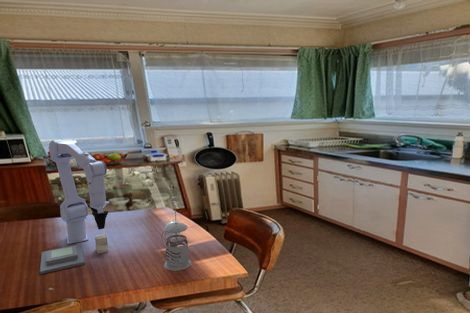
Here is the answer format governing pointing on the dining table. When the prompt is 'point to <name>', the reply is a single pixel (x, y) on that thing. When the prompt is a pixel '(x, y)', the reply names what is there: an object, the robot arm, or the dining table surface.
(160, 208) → the dining table surface
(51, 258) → the stepped stand
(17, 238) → the dining table surface
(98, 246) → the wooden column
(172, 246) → the french press
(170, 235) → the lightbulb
